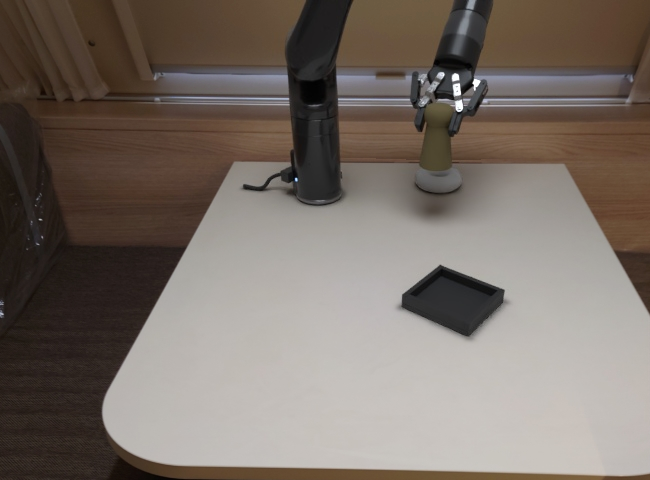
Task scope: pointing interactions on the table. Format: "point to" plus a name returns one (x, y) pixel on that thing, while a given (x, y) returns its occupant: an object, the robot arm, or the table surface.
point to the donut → (438, 180)
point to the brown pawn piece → (437, 138)
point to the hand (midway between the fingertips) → (434, 132)
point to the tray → (453, 299)
